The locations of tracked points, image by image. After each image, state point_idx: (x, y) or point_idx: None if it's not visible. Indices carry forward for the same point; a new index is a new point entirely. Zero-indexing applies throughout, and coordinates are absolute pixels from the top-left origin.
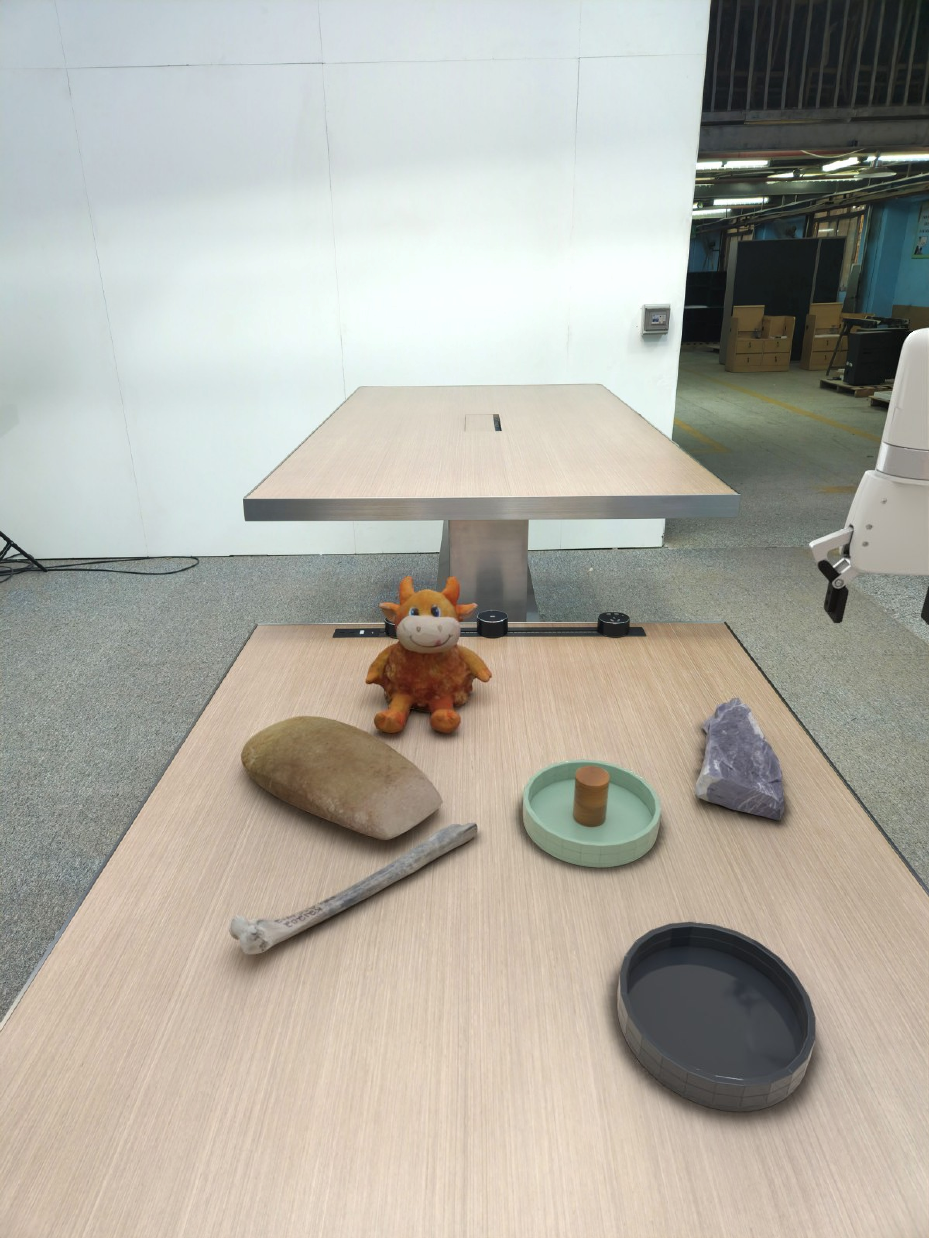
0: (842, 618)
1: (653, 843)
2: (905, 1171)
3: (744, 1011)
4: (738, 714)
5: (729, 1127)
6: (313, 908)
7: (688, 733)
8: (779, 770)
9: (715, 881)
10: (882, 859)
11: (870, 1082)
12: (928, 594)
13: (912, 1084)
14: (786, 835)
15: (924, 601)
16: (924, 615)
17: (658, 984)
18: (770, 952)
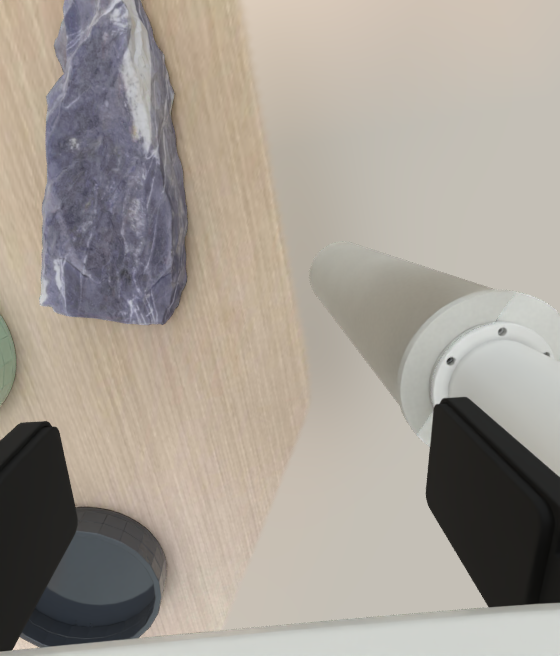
0: (68, 542)
1: (12, 382)
2: None
3: (116, 565)
4: (103, 62)
5: None
6: None
7: (36, 69)
8: (169, 248)
9: (93, 423)
10: (291, 353)
11: (207, 587)
12: (501, 496)
13: (236, 582)
14: (183, 331)
15: (474, 444)
16: (440, 443)
17: None
18: (129, 549)
